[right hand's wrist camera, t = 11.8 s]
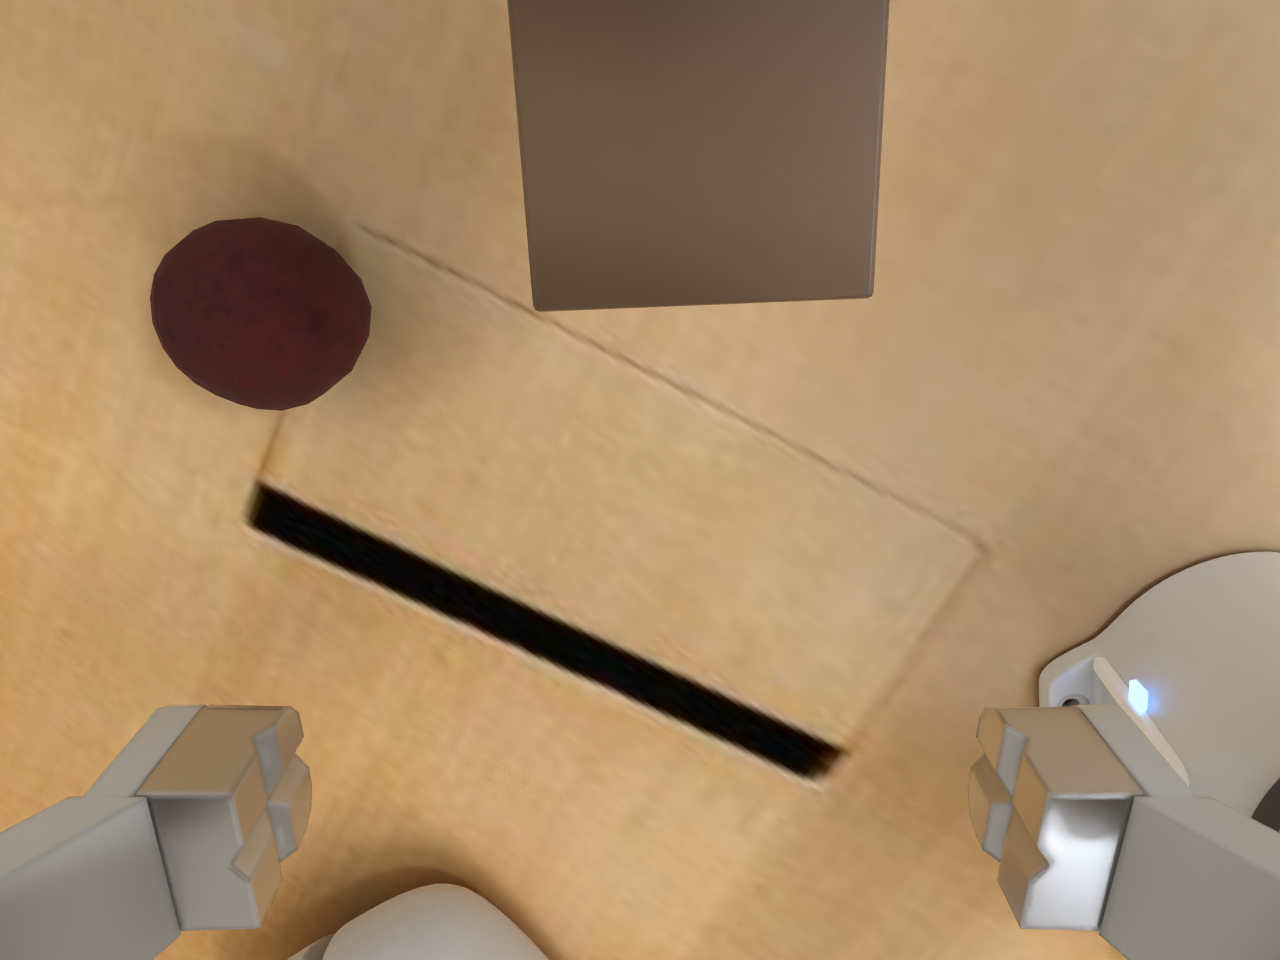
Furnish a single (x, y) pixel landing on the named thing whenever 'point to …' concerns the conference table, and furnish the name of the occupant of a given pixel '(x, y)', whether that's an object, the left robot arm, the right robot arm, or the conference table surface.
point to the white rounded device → (427, 930)
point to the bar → (699, 149)
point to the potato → (259, 312)
